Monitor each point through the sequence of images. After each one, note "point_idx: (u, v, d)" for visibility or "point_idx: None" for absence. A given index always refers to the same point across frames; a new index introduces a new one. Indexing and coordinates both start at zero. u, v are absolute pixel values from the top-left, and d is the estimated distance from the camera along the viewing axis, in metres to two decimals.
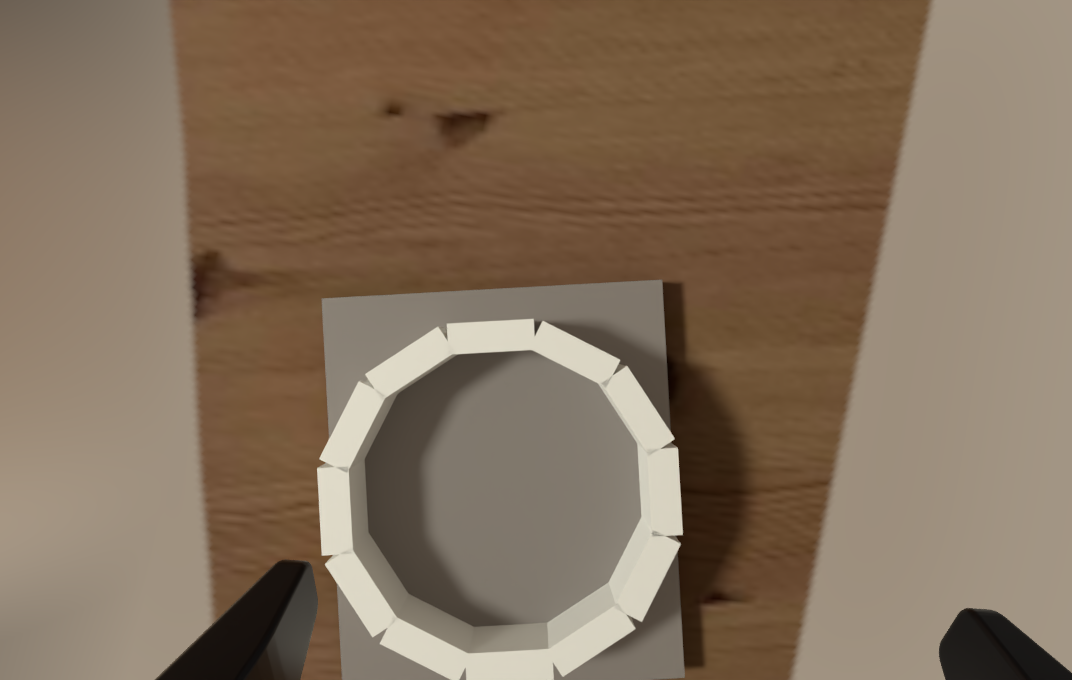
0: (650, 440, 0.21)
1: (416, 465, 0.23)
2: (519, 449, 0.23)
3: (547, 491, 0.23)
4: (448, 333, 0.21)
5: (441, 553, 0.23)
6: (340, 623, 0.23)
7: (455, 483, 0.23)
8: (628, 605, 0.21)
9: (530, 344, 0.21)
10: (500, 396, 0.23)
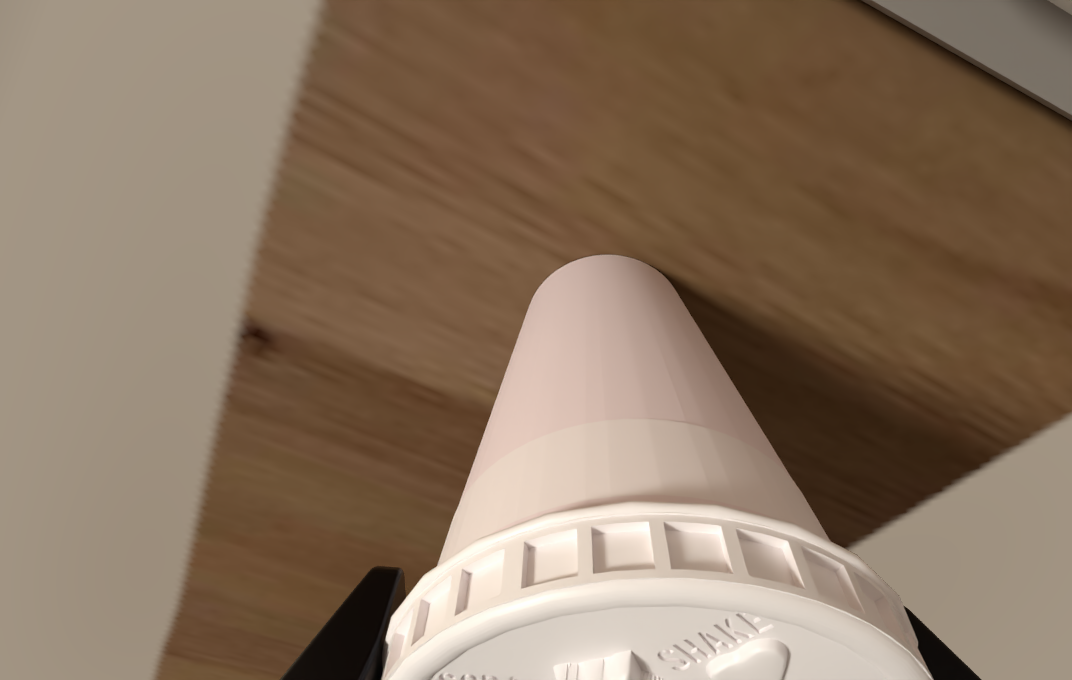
0: None
1: None
2: None
3: None
4: None
5: None
6: None
7: None
8: None
9: None
10: None
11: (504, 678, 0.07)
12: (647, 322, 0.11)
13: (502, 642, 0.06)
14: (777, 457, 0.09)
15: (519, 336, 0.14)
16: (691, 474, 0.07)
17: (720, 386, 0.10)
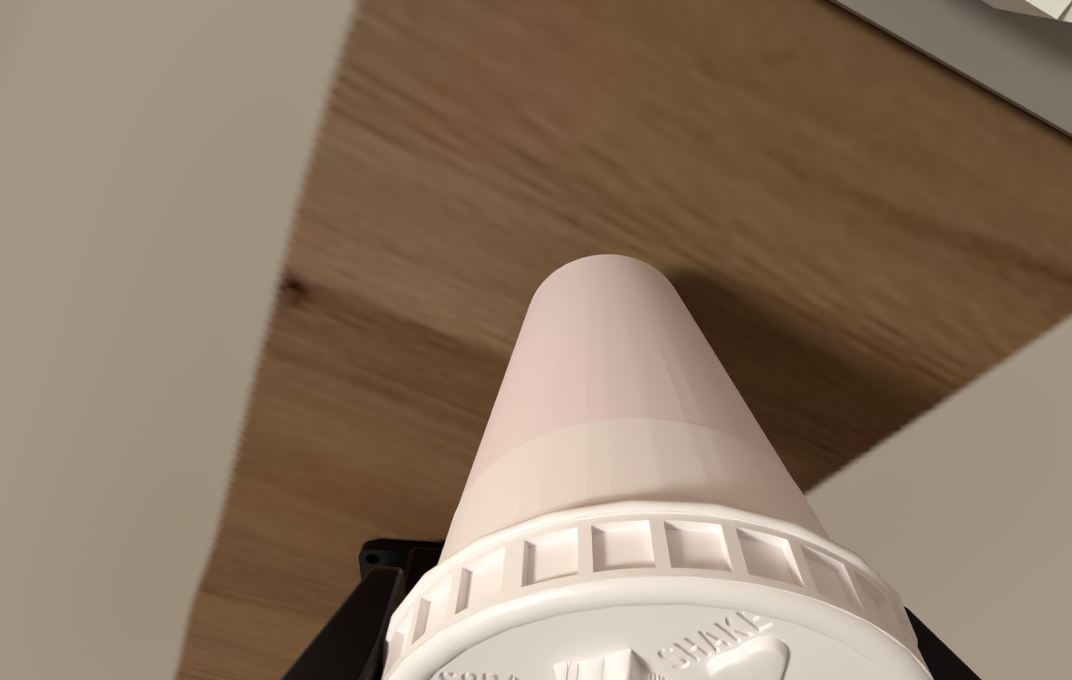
0: None
1: None
2: None
3: None
4: None
5: None
6: None
7: None
8: None
9: None
10: None
11: (505, 676, 0.07)
12: (647, 322, 0.11)
13: (502, 640, 0.06)
14: (777, 456, 0.09)
15: (519, 336, 0.14)
16: (691, 474, 0.07)
17: (720, 385, 0.10)
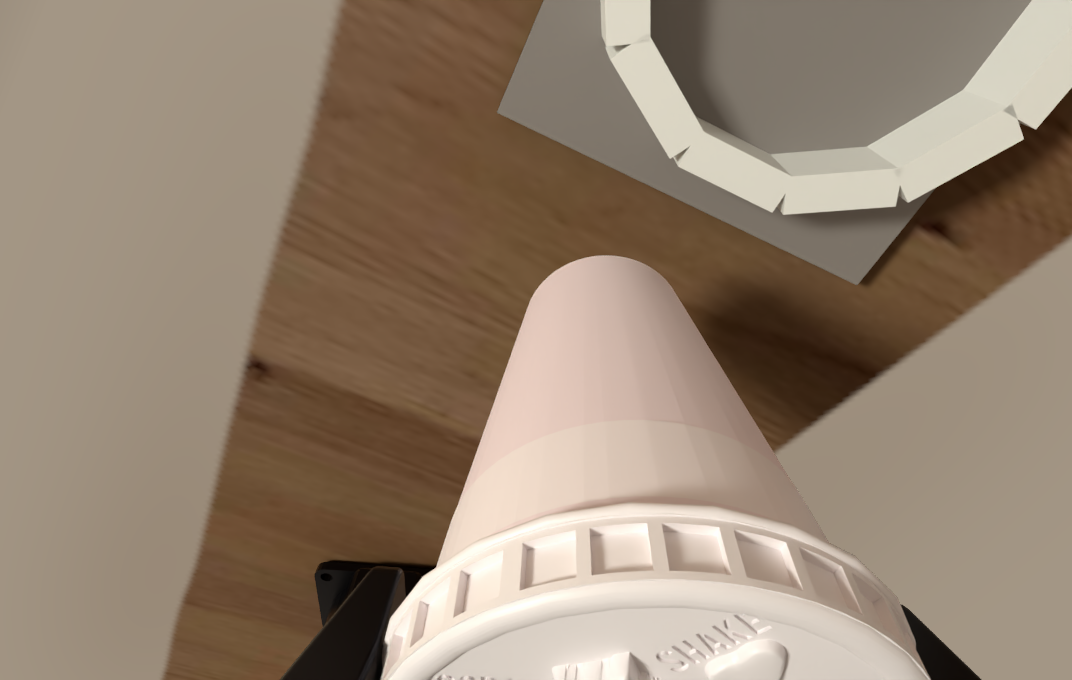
0: None
1: None
2: None
3: None
4: None
5: None
6: (539, 17, 0.17)
7: None
8: (909, 176, 0.16)
9: None
10: None
11: (503, 678, 0.07)
12: (645, 323, 0.11)
13: (501, 643, 0.06)
14: (775, 458, 0.09)
15: (518, 337, 0.14)
16: (689, 476, 0.07)
17: (718, 387, 0.10)
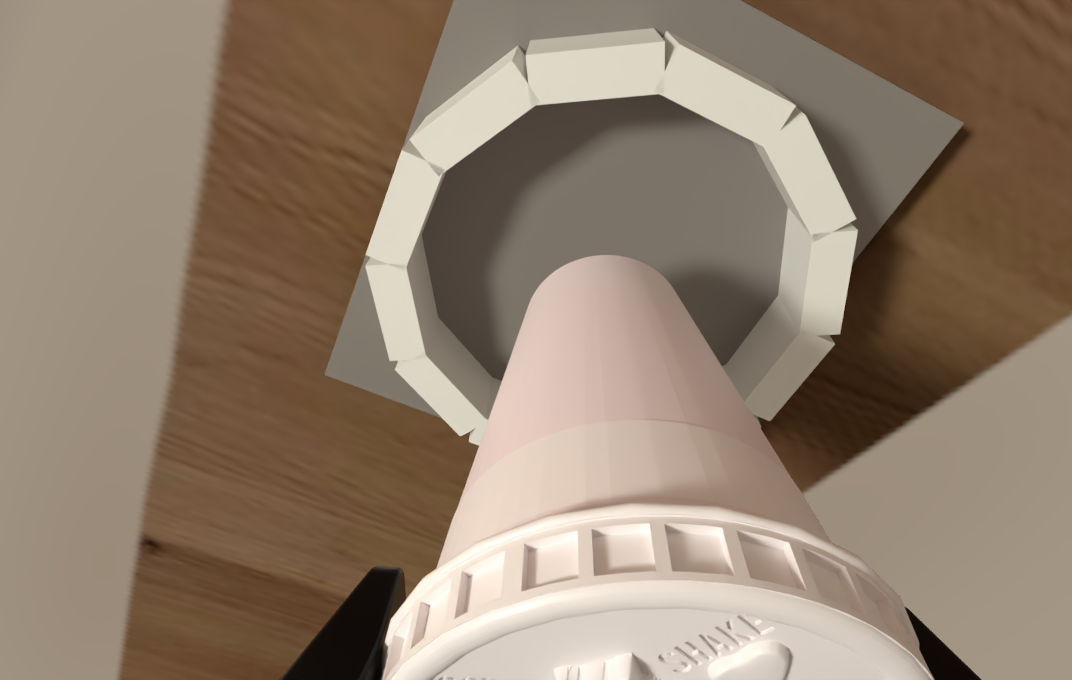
0: (813, 322, 0.16)
1: (516, 189, 0.17)
2: (647, 234, 0.17)
3: None
4: (672, 60, 0.13)
5: (494, 296, 0.19)
6: (348, 309, 0.19)
7: (551, 233, 0.18)
8: None
9: (767, 138, 0.14)
10: (665, 160, 0.16)
11: (504, 679, 0.07)
12: (647, 322, 0.11)
13: (502, 645, 0.06)
14: (777, 458, 0.09)
15: (518, 336, 0.13)
16: (691, 476, 0.07)
17: (720, 387, 0.10)
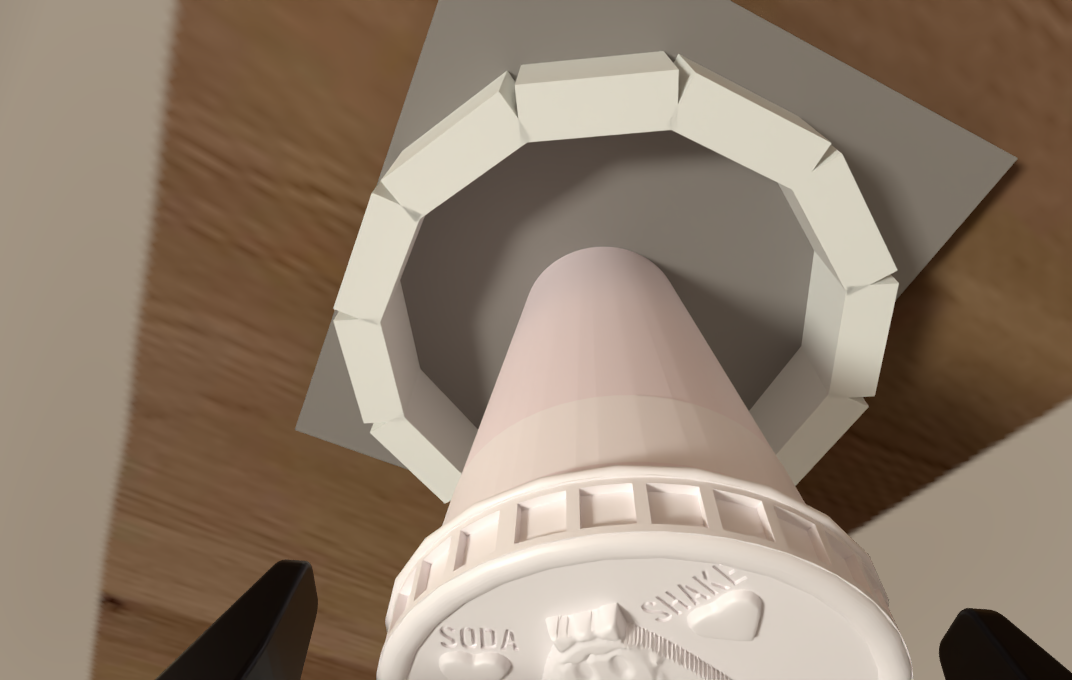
0: (845, 383, 0.14)
1: (506, 230, 0.15)
2: None
3: None
4: (687, 91, 0.11)
5: (483, 346, 0.17)
6: (320, 361, 0.17)
7: None
8: None
9: (796, 180, 0.12)
10: (675, 199, 0.14)
11: (501, 630, 0.07)
12: (640, 308, 0.12)
13: (498, 595, 0.07)
14: (761, 433, 0.10)
15: (518, 325, 0.14)
16: (674, 444, 0.08)
17: (707, 367, 0.11)
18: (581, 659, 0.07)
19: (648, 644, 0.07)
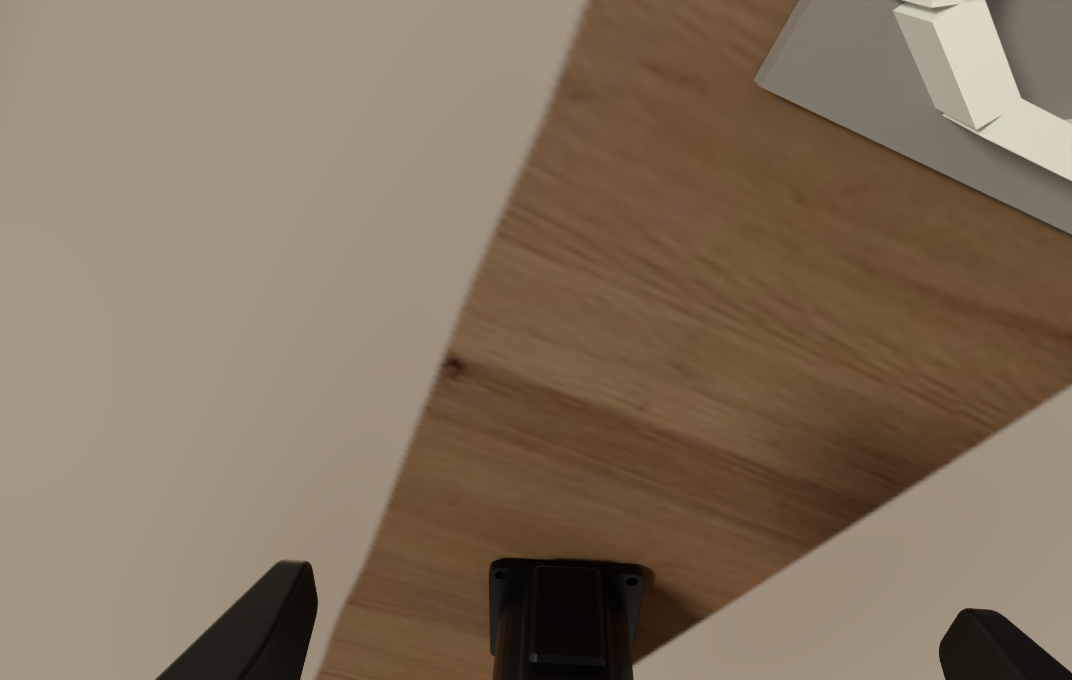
0: None
1: None
2: None
3: None
4: None
5: None
6: None
7: None
8: None
9: None
10: None
11: None
12: None
13: None
14: None
15: None
16: None
17: None
18: None
19: None
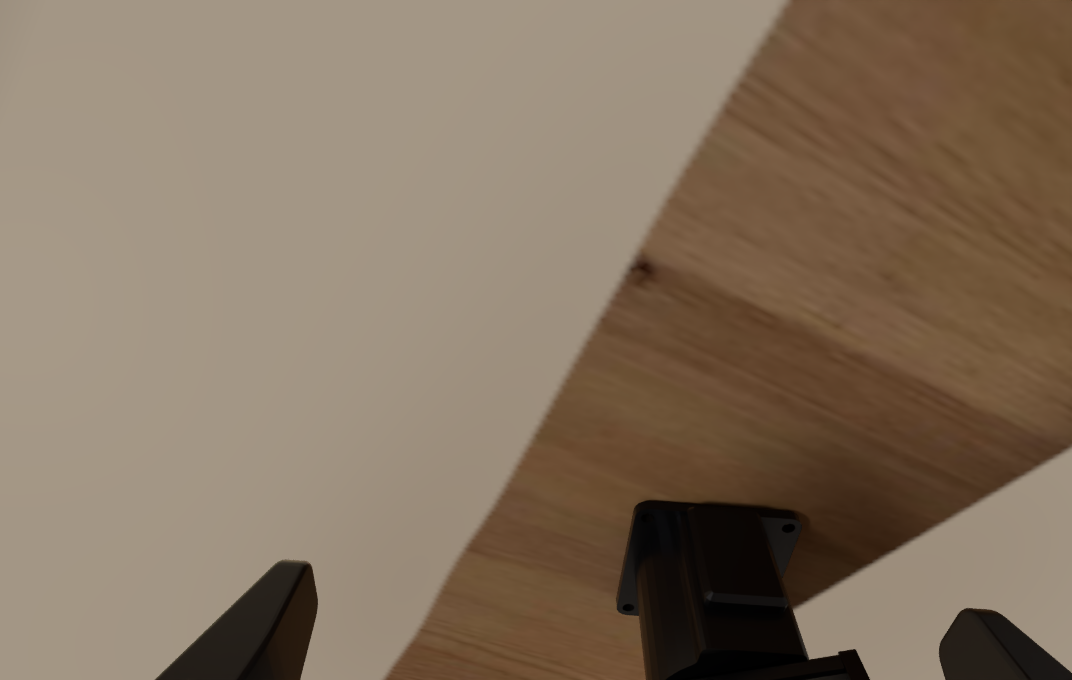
0: None
1: None
2: None
3: None
4: None
5: None
6: None
7: None
8: None
9: None
10: None
11: None
12: None
13: None
14: None
15: None
16: None
17: None
18: None
19: None
